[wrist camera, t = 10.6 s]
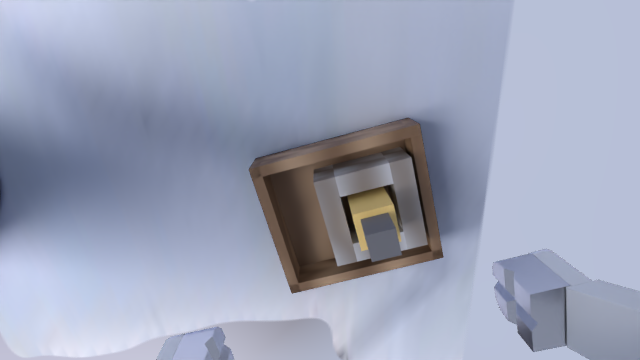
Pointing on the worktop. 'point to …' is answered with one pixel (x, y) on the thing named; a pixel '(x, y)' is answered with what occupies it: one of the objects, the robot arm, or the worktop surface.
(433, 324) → the worktop surface
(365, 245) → the connector
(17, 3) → the worktop surface
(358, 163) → the walled box
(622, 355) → the robot arm
